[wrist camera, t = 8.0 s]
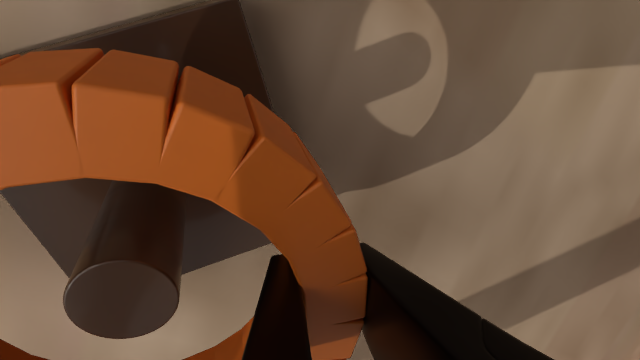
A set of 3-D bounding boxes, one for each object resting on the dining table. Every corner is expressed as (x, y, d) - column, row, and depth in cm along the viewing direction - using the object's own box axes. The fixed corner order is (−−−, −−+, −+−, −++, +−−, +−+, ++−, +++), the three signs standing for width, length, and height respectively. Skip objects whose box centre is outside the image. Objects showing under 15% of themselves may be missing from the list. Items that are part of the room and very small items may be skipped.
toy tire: (-16, 438, 11) (-71, 556, 8) (-306, 69, 6) (-602, 128, 4) (333, 353, 13) (359, 430, 11) (335, 34, 8) (383, 57, 6)
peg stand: (100, 280, 16) (34, 481, 10) (-55, 73, 12) (-369, 200, 5) (302, 210, 17) (360, 351, 11) (234, -7, 13) (265, 17, 6)
